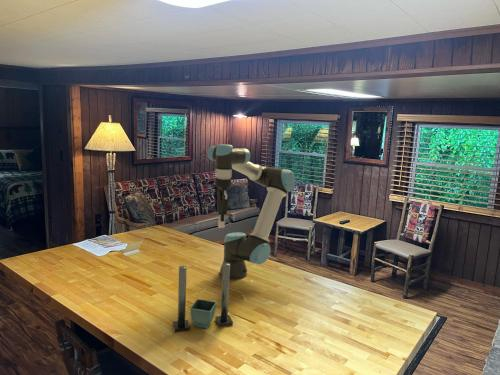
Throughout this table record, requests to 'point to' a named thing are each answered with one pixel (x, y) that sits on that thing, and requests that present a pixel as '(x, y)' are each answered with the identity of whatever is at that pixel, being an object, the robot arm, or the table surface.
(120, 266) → the table surface
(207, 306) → the flower pot
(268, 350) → the table surface
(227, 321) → the post
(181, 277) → the post
